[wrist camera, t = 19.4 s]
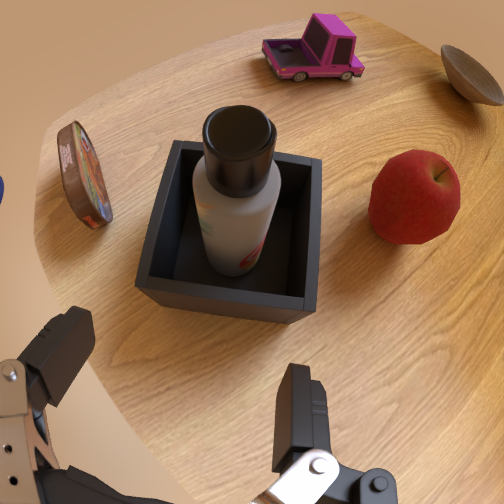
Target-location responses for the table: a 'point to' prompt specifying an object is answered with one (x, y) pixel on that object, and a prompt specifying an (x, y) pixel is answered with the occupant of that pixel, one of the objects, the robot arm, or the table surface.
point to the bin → (270, 260)
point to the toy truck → (315, 51)
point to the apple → (414, 198)
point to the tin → (83, 177)
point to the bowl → (470, 77)
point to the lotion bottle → (236, 187)
